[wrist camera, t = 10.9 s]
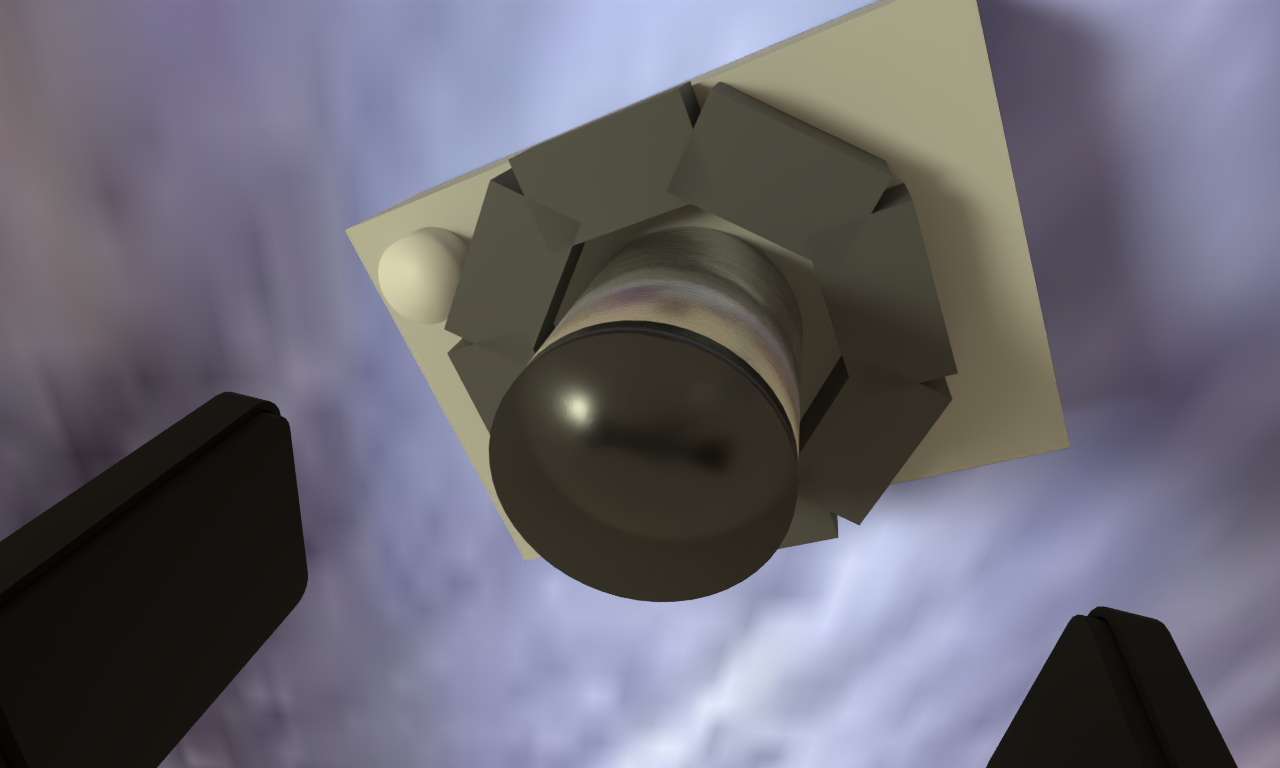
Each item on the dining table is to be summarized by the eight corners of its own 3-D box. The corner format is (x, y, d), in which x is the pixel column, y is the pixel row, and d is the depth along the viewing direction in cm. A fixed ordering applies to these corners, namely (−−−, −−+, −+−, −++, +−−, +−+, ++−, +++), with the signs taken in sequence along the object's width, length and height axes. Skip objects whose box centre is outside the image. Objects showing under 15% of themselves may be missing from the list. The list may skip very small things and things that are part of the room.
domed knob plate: (936, -29, 17) (985, -40, 12) (1026, 373, 20) (1092, 489, 15) (419, 188, 21) (305, 244, 17) (566, 484, 25) (507, 599, 20)
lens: (596, 207, 16) (494, 305, 11) (827, 250, 16) (834, 375, 11) (575, 405, 19) (483, 562, 14) (776, 449, 18) (761, 631, 13)
